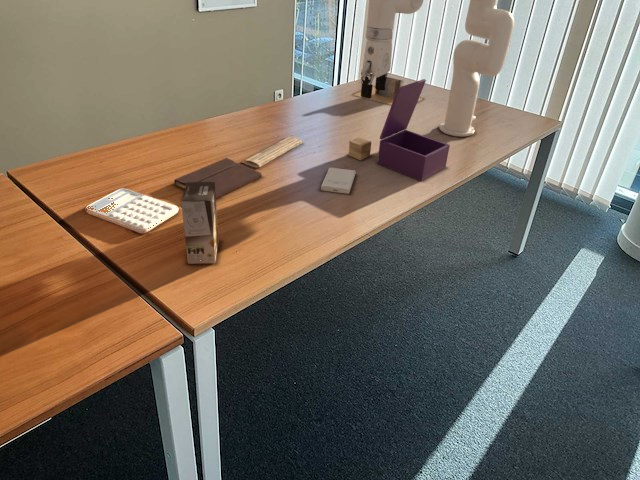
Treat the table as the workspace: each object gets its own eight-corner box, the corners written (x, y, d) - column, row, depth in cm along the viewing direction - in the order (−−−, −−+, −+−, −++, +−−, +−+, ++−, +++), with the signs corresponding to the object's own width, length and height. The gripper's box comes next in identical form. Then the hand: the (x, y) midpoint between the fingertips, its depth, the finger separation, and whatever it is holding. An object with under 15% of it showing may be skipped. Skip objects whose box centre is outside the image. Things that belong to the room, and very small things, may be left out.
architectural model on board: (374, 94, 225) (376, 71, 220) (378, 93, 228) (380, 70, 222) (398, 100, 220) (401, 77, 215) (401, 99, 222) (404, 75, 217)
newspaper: (259, 169, 160) (259, 163, 159) (241, 163, 163) (240, 157, 162) (302, 144, 177) (302, 139, 176) (285, 139, 180) (285, 134, 179)
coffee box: (216, 263, 119) (211, 201, 110) (187, 264, 118) (180, 201, 109) (219, 241, 126) (215, 181, 118) (192, 241, 126) (185, 181, 117)
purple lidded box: (445, 167, 167) (449, 144, 163) (421, 181, 158) (425, 157, 154) (402, 151, 176) (405, 129, 172) (377, 163, 167) (380, 140, 163)
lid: (426, 80, 160) (424, 78, 160) (400, 89, 151) (397, 87, 151) (406, 128, 171) (404, 127, 172) (381, 139, 163) (379, 138, 163)
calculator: (143, 235, 127) (142, 228, 126) (84, 213, 135) (82, 206, 134) (180, 211, 137) (180, 205, 136) (123, 192, 145) (122, 186, 144)
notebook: (261, 178, 155) (261, 171, 154) (211, 202, 142) (210, 195, 141) (225, 163, 163) (225, 157, 162) (174, 184, 149) (173, 178, 148)
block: (358, 151, 175) (359, 137, 172) (370, 156, 172) (371, 141, 169) (348, 155, 172) (349, 141, 169) (360, 160, 169) (361, 145, 166)
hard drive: (355, 175, 160) (349, 194, 149) (328, 172, 161) (320, 190, 151) (355, 170, 159) (349, 189, 148) (329, 167, 160) (321, 185, 150)
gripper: (378, 40, 141) (371, 103, 150) (403, 30, 154) (396, 89, 163) (353, 36, 144) (348, 98, 153) (380, 26, 157) (374, 84, 166)
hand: (373, 93), depth 158 cm, fingers open, 9 cm apart
